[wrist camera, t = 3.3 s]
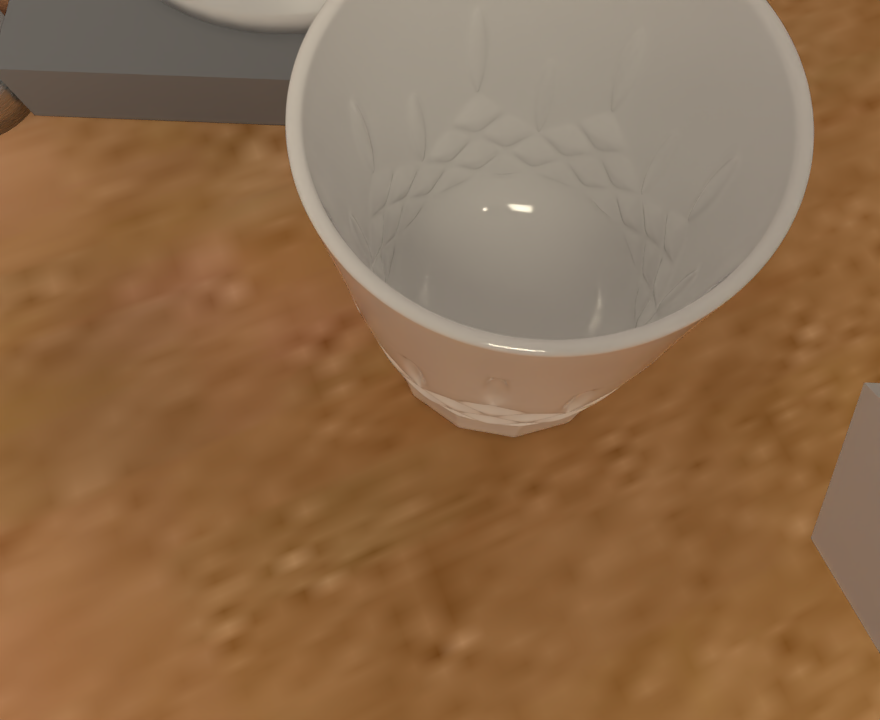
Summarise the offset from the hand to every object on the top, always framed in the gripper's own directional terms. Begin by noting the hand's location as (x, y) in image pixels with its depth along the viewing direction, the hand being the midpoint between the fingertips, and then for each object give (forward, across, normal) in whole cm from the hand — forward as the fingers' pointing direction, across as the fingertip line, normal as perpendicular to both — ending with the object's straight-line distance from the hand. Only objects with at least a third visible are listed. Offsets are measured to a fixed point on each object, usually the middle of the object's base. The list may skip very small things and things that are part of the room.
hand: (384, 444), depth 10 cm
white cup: (+10, +2, -3) cm, 11 cm away
